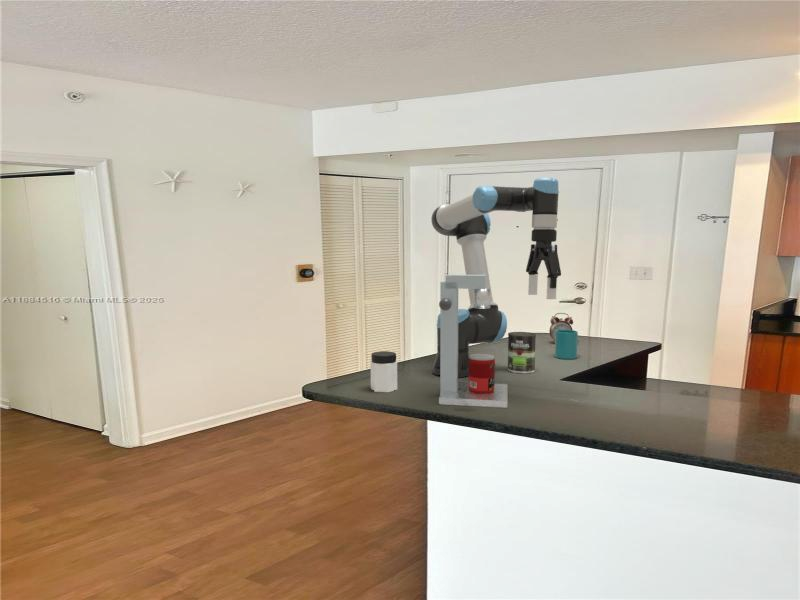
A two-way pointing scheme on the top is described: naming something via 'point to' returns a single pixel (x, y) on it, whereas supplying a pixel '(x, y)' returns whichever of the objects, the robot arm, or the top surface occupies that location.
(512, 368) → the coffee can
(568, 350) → the cup
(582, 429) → the top surface
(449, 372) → the press
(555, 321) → the alarm clock
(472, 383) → the canned food
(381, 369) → the jar
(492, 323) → the robot arm
